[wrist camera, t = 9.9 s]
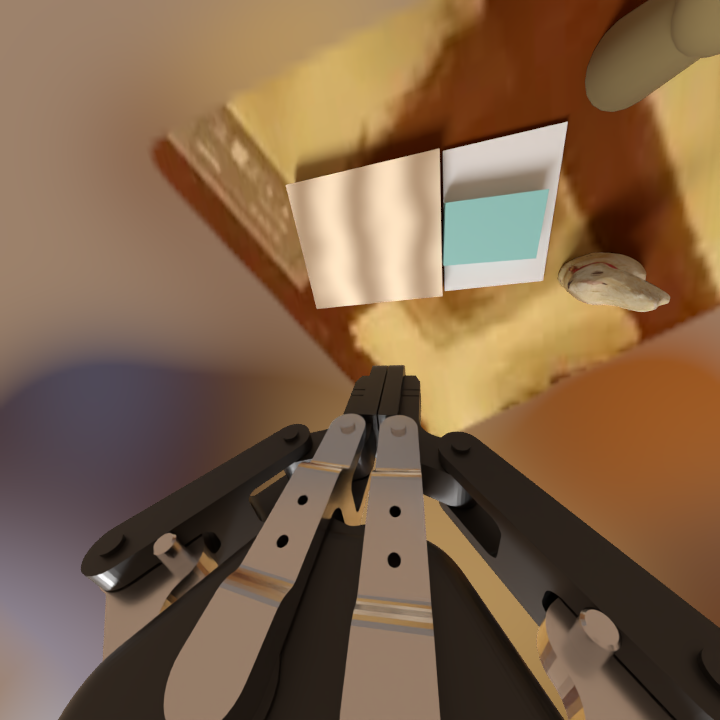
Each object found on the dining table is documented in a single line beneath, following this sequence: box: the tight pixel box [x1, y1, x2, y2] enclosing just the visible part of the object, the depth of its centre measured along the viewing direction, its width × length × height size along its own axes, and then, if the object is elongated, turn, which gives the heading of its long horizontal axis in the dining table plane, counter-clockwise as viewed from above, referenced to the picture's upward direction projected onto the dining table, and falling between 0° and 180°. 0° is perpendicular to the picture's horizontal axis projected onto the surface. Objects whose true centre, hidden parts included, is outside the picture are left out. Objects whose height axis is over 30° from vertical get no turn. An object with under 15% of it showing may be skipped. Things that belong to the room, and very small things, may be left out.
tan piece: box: [558, 252, 670, 312], centre depth 25 cm, size 6×8×10 cm
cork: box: [585, 0, 720, 112], centre depth 17 cm, size 6×6×11 cm
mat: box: [443, 122, 568, 291], centre depth 28 cm, size 11×14×1 cm
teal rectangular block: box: [442, 189, 549, 266], centre depth 28 cm, size 9×6×2 cm, turn 96°
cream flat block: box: [286, 148, 442, 309], centre depth 31 cm, size 16×14×2 cm
